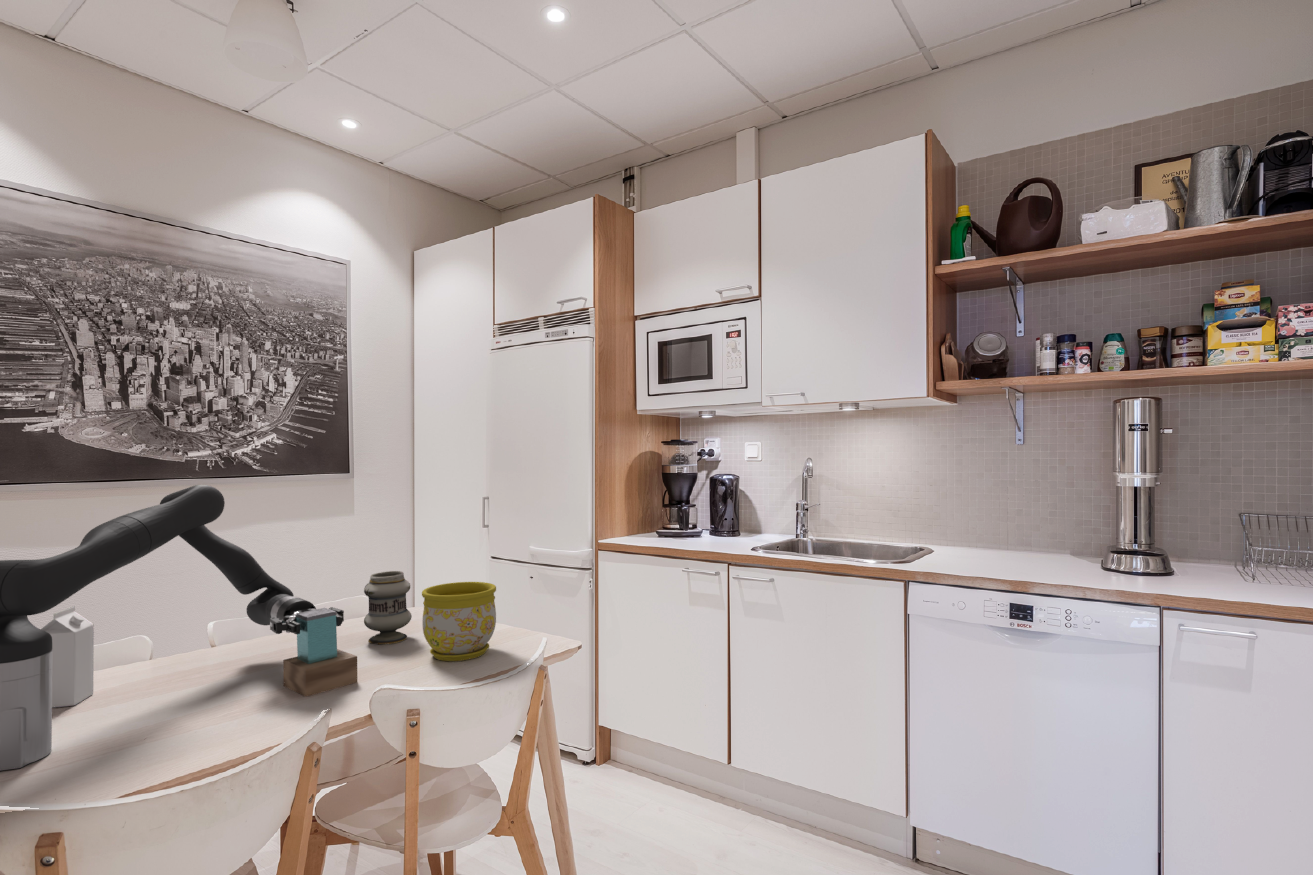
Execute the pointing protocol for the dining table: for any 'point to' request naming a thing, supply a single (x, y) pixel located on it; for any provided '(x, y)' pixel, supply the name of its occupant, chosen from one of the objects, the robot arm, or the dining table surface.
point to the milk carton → (71, 657)
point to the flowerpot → (459, 619)
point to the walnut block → (320, 674)
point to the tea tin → (317, 635)
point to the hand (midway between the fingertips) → (319, 625)
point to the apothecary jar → (387, 606)
